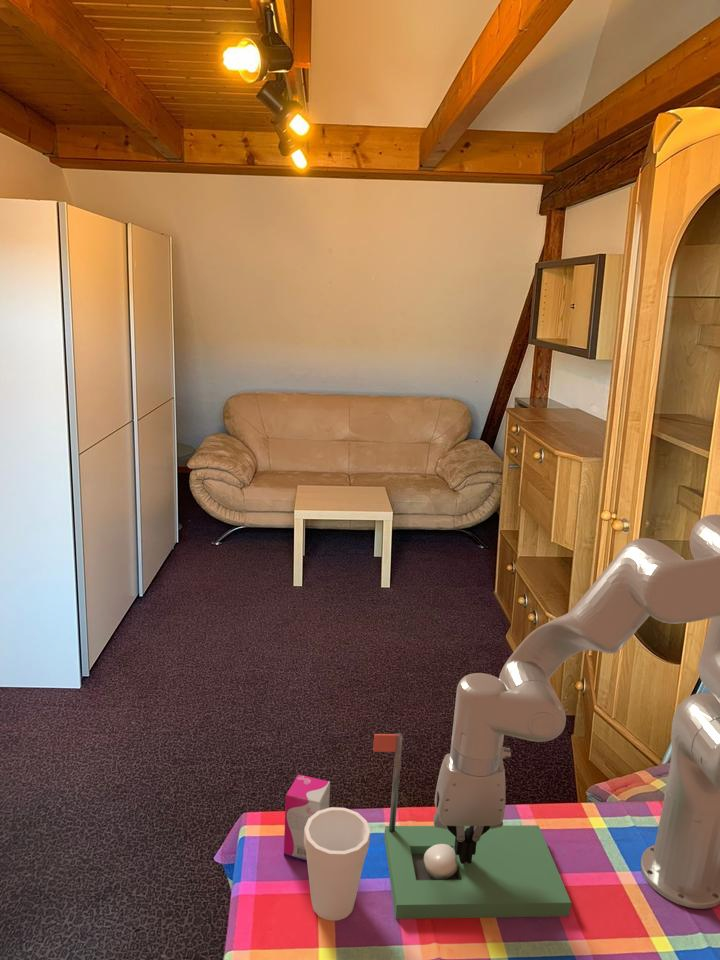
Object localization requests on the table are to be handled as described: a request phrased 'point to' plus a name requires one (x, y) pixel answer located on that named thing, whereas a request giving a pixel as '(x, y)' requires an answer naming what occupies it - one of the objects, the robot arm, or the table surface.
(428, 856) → the cream rounded stone
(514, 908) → the putting mat
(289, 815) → the supplement box
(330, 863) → the foam cup
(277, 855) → the table surface
